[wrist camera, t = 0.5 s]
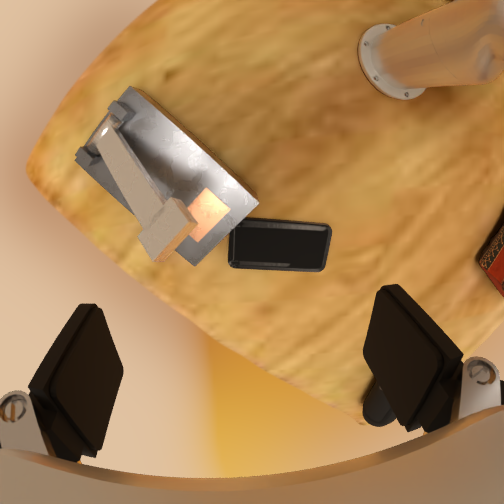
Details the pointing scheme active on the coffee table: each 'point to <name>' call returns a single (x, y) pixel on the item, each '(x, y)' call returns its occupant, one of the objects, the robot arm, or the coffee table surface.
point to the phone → (279, 245)
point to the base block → (175, 171)
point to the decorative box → (495, 260)
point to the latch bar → (142, 193)
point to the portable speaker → (377, 408)
